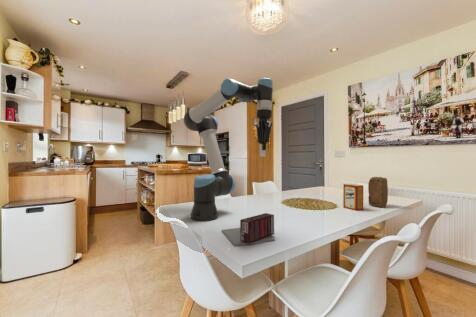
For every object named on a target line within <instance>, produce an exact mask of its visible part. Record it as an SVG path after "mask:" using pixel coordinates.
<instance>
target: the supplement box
mask: <svg viewBox="0 0 476 317" xmlns="http://www.w3.org/2000/svg"><path fill="white" fill-rule="evenodd" d="M239 223H240V224H239V226H240V227H239V228H240V241H242V242H245V243H247V244H248V245H251V244H250V243H252V242H255V241H258V240H260V239H263V238H265V237H268V236H271V237H272V236H273V235H275V214H271V213H268V212H265V213H260V214H257V215H253V216H249V217H246V218H241V219H240V221H239Z"/></svg>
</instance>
